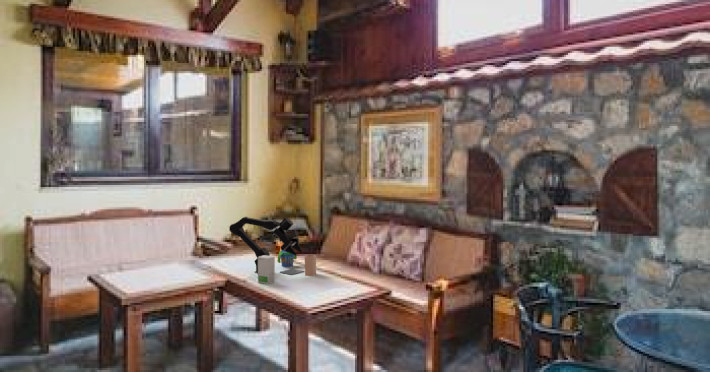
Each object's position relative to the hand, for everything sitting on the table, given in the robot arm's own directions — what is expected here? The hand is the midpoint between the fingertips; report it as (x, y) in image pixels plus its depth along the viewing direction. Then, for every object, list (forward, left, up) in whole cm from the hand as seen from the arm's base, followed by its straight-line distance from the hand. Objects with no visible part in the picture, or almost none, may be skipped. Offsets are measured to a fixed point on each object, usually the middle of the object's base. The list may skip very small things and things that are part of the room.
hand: (299, 253), depth 333 cm
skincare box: (-26, +1, -13) cm, 29 cm away
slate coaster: (0, +7, -13) cm, 15 cm away
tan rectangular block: (+3, -7, -13) cm, 15 cm away
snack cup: (+11, +23, -13) cm, 29 cm away
